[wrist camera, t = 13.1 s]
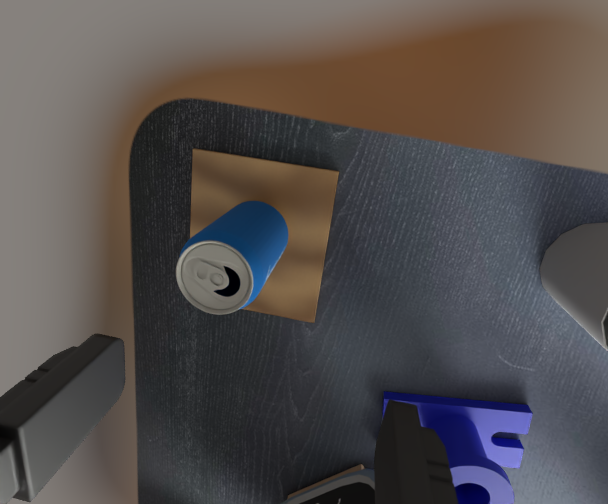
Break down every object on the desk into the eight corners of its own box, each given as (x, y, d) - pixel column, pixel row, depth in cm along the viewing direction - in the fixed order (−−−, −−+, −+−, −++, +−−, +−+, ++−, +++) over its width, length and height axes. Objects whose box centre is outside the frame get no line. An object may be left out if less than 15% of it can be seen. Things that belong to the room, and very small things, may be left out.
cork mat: (195, 148, 37) (192, 148, 36) (339, 171, 36) (338, 171, 35) (190, 296, 43) (187, 298, 42) (314, 320, 41) (314, 323, 41)
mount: (527, 404, 41) (568, 477, 33) (515, 459, 43) (550, 538, 35) (383, 391, 43) (388, 455, 35) (379, 443, 45) (383, 515, 37)
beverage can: (275, 271, 39) (239, 334, 28) (217, 244, 39) (159, 296, 28) (300, 216, 37) (272, 260, 26) (239, 187, 37) (185, 219, 26)
